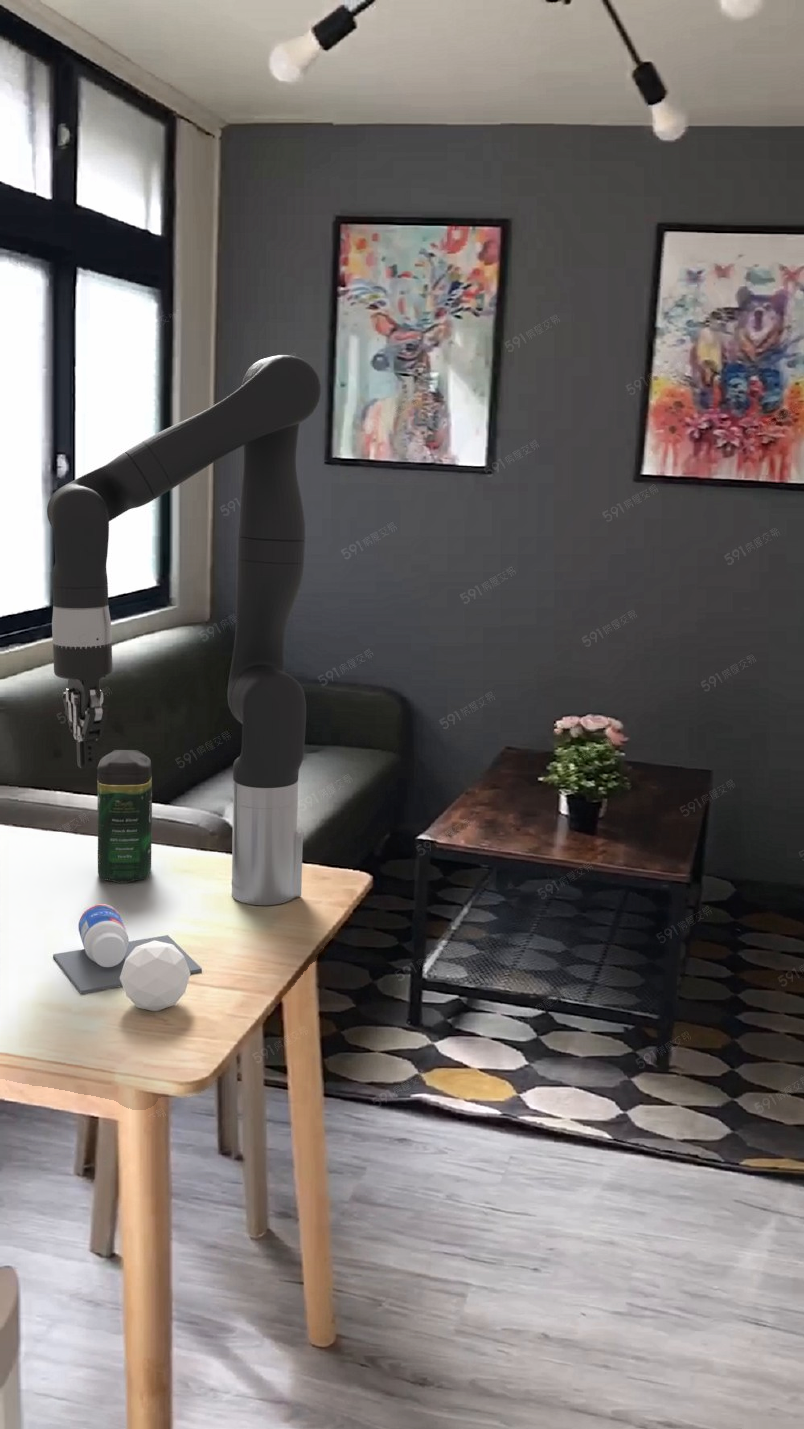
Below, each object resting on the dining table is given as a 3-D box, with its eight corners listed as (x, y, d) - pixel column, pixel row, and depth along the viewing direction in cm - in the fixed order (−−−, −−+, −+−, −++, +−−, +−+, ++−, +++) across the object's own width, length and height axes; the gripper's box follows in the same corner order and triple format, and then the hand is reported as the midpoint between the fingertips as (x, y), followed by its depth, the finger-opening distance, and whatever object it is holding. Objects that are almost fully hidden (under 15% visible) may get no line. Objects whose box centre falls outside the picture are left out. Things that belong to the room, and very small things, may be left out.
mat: (167, 937, 165) (167, 935, 165) (201, 971, 155) (201, 968, 155) (53, 957, 157) (53, 954, 157) (81, 993, 147) (81, 990, 147)
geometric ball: (136, 1029, 145) (97, 971, 145) (190, 988, 150) (152, 932, 149) (157, 1021, 139) (117, 961, 139) (213, 979, 143) (174, 921, 143)
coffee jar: (150, 884, 185) (150, 761, 181) (95, 885, 183) (93, 761, 180) (153, 862, 194) (153, 745, 190) (101, 863, 193) (99, 745, 189)
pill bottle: (124, 905, 161) (137, 933, 153) (116, 944, 162) (128, 974, 153) (81, 900, 159) (92, 929, 150) (73, 940, 160) (83, 971, 151)
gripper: (126, 645, 161) (130, 775, 165) (94, 631, 172) (99, 753, 176) (68, 649, 158) (73, 782, 161) (39, 634, 169) (45, 759, 172)
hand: (87, 767), depth 169 cm, fingers closed
